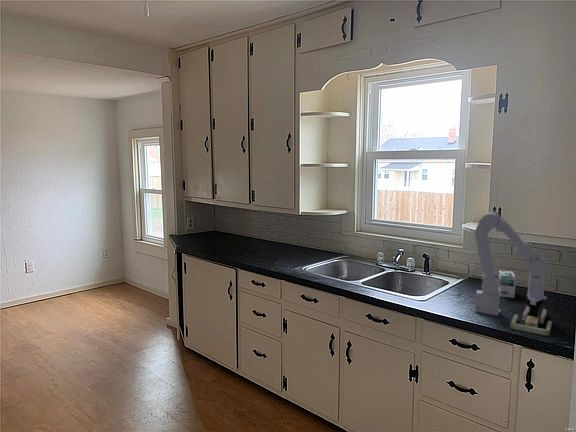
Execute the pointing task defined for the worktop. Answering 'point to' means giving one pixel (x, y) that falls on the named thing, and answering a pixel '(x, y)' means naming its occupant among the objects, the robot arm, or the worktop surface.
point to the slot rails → (540, 317)
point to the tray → (529, 328)
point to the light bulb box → (507, 284)
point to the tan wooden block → (531, 323)
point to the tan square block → (533, 318)
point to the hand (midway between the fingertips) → (533, 316)
